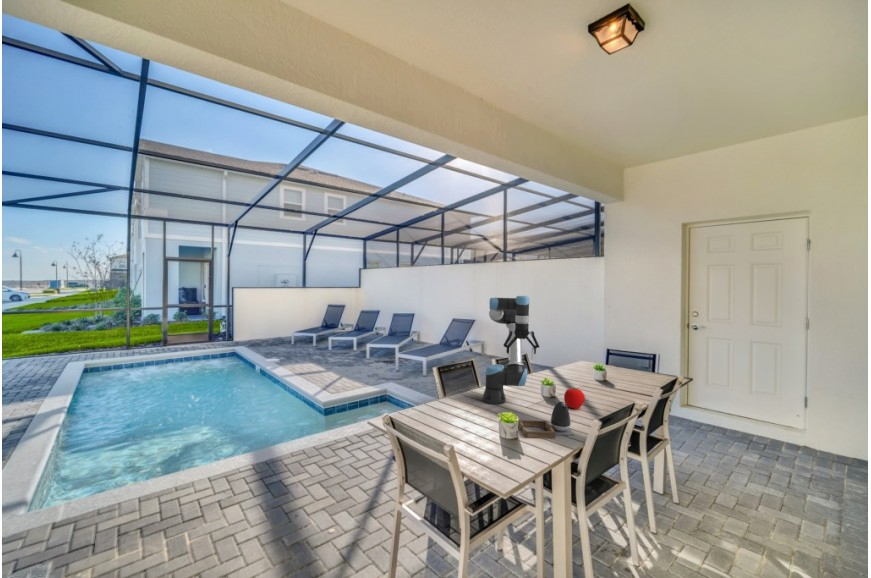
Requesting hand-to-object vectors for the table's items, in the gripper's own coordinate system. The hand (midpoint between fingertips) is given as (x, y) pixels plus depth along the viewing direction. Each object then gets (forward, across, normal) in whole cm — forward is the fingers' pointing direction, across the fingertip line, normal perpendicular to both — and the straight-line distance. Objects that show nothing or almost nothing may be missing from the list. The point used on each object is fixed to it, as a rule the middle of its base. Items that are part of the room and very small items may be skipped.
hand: (520, 359), depth 218 cm
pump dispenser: (+34, +19, -16) cm, 42 cm away
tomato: (+35, +39, +19) cm, 56 cm away
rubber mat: (+35, +18, -16) cm, 42 cm away
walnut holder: (+35, +5, -18) cm, 39 cm away
